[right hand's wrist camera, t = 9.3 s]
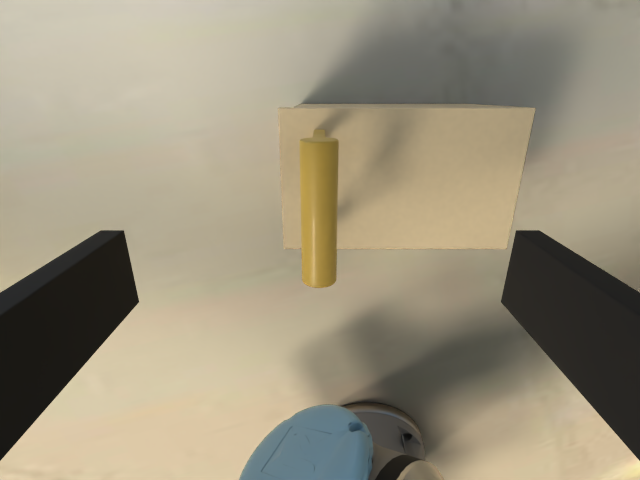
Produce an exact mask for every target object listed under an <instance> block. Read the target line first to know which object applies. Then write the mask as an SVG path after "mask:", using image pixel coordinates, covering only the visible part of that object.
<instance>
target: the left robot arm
mask: <svg viewBox="0 0 640 480" xmlns="http://www.w3.org/2000/svg"><path fill="white" fill-rule="evenodd" d="M239 480H444V479H443V477H442V475H441V473H440V472H439V470H438V469H437V468H436V467H435V465H433V464H431V463H429V462H427V461H425V449H424V443H423V440H422V437H421V433H420V431H419V428H418V427H417V425H416V424H415V422H414V421H413V420H412V419H411V418H410V417H409V416H408V415H406V414H405V413H403V412H402V411H400V410H398V409H396V408H393V407H391V406H387V405H384V404H378V403H356V404H350V405H346V406H343V407H341V406H337V405H318V406H314V407H310V408H307V409H305V410H302V411H300V412H298V413H296V414H295V415H294V416H292V417H291V418H290V419H288V420H285V421H283V422H282V423H281V424H279V425H278V426H277V427H276V428H275V429H274V430H273V431H271V432H270V433H269V434H268V435H267V436H266V437H265V438H264V440H263V441H262V442H261V443H260V444H259V446H258V447H257V448H256V450H255V451H254V452H253V454H252V455H251V457H250V458H249V460H248V462H247V464H246V465H245V467H244V469H243V471H242V474H241V476H240V478H239Z"/></svg>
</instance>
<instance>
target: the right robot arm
mask: <svg viewBox="0 0 640 480" xmlns="http://www.w3.org/2000/svg"><path fill="white" fill-rule="evenodd" d="M138 302H139V300H138V295H137V290H136V286H135V281H134V276H133V271H132V267H131V262H130V257H129V253H128V248H127V243H126V239H125V234H124V231H99V232H98V233H96V234H94V235H93V236H91V237H90V238H88V239H86V240H85V241H83V242H82V243H80V244H78V245H77V246H75V247H73V248H72V249H70V250H69V251H67V252H65V253H64V254H62V255H61V256H59V257H57V258H56V259H54V260H53V261H51V262H49V263H48V264H46V265H44V266H43V267H41V268H40V269H38V270H36V271H35V272H33V273H32V274H30V275H28V276H27V277H25V278H23V279H22V280H20V281H19V282H17V283H15V284H14V285H12V286H11V287H9V288H7V289H6V290H4V291H2V292H1V293H0V460H1V459H2V458H3V457H4V456H5V455H6V454H7V452H8V451H9V450H10V449H11V448H12V447H13V445H14V444H15V443H16V442H17V441H18V440H19V439H20V437H21V436H22V435H23V434H24V433H25V432H26V431H27V429H28V428H29V427H30V426H31V425H32V424H33V423H34V421H35V420H36V419H37V418H38V417H39V416H40V415H41V413H42V412H43V411H44V410H45V409H46V408H47V407H48V405H49V404H50V403H51V402H52V401H53V400H54V399H55V397H56V396H57V395H58V394H59V393H60V392H61V391H62V389H63V388H64V387H65V386H66V385H67V384H68V383H69V381H70V380H71V379H72V378H73V377H74V376H75V375H76V373H77V372H78V371H79V370H80V369H81V368H82V367H83V365H84V364H85V363H86V362H87V361H88V360H89V359H90V357H91V356H92V355H93V354H94V353H95V352H96V351H97V349H98V348H99V347H100V346H101V345H102V344H103V343H104V341H105V340H106V339H107V338H108V337H109V336H110V334H111V333H112V332H113V331H114V330H115V329H116V328H117V326H118V325H119V324H120V323H121V322H122V321H123V320H124V318H125V317H126V316H127V315H128V314H129V313H130V312H131V310H132V309H133V308H134V307H135V306H136V305H137V304H138ZM501 302H502V304H503V305H504V306H505V307H506V308H507V309H508V310H509V312H510V313H511V314H512V315H513V316H514V317H515V318H516V320H517V321H518V322H519V323H520V324H521V325H522V326H523V328H524V329H525V330H526V331H527V332H528V333H529V334H530V336H531V337H532V338H533V339H534V340H535V341H536V343H537V344H538V345H539V346H540V347H541V348H542V349H543V351H544V352H545V353H546V354H547V355H548V356H549V357H550V359H551V360H552V361H553V362H554V363H555V364H556V365H557V367H558V368H559V369H560V370H561V371H562V372H563V373H564V375H565V376H566V377H567V378H568V379H569V380H570V381H571V383H572V384H573V385H574V386H575V387H576V388H577V389H578V391H579V392H580V393H581V394H582V395H583V396H584V397H585V399H586V400H587V401H588V402H589V403H590V404H591V405H592V407H593V408H594V409H595V410H596V411H597V412H598V413H599V415H600V416H601V417H602V418H603V419H604V420H605V421H606V423H607V424H608V425H609V426H610V427H611V428H612V429H613V431H614V432H615V433H616V434H617V435H618V436H619V437H620V439H621V440H622V441H623V442H624V443H625V444H626V445H627V447H628V448H629V449H630V450H631V451H632V452H633V454H634V455H635V456H636V457H637V458H638V459H639V460H640V293H639V292H638V291H636V290H634V289H633V288H631V287H629V286H628V285H626V284H625V283H623V282H621V281H620V280H618V279H617V278H615V277H613V276H612V275H610V274H608V273H607V272H605V271H604V270H602V269H600V268H599V267H597V266H596V265H594V264H592V263H591V262H589V261H587V260H586V259H584V258H583V257H581V256H579V255H578V254H576V253H575V252H573V251H571V250H570V249H568V248H567V247H565V246H563V245H562V244H560V243H558V242H557V241H555V240H554V239H552V238H550V237H549V236H547V235H546V234H544V233H542V232H541V231H516V234H515V239H514V243H513V248H512V253H511V257H510V262H509V267H508V271H507V276H506V281H505V285H504V290H503V295H502V300H501Z"/></svg>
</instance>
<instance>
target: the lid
mask: <svg viewBox="0 0 640 480" xmlns="http://www.w3.org/2000/svg"><path fill="white" fill-rule="evenodd" d="M535 110H536V108H529V107H280V108H278V119H279V144H280V169H281V194H282V218H283V243H284V249H302V281H303V282H304V284H306V285H308V286H310V287H315V288H323V287H328V286H331V285H333V284H334V283H335V281H336V265H337V249H507V245H508V240H509V235H510V231H511V226H512V221H513V216H514V211H515V206H516V202H517V197H518V192H519V187H520V182H521V177H522V173H523V168H524V163H525V158H526V153H527V148H528V144H529V139H530V134H531V129H532V124H533V119H534V115H535Z"/></svg>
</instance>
